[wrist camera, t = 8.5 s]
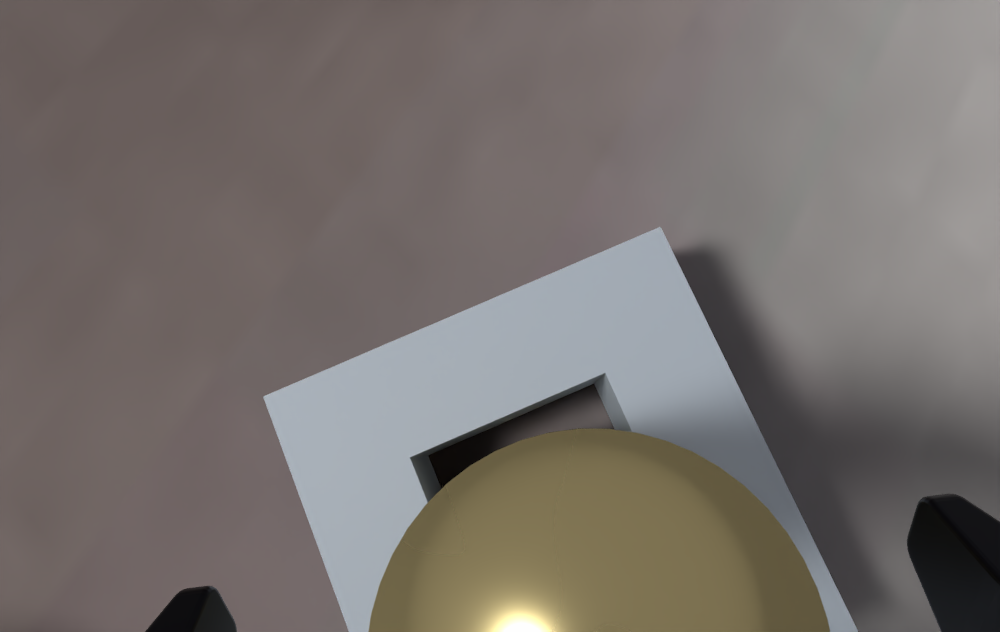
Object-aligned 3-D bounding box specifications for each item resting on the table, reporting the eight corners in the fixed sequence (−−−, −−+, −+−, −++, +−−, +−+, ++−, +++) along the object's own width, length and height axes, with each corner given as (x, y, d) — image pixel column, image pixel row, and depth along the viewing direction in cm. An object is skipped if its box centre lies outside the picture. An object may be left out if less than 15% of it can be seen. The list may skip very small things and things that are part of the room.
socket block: (811, 614, 18) (865, 646, 15) (443, 779, 18) (426, 844, 15) (641, 258, 20) (660, 226, 17) (303, 403, 20) (263, 396, 17)
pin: (642, 513, 19) (939, 694, 5) (543, 603, 19) (580, 1047, 5) (554, 413, 20) (611, 337, 6) (456, 499, 19) (272, 636, 5)
